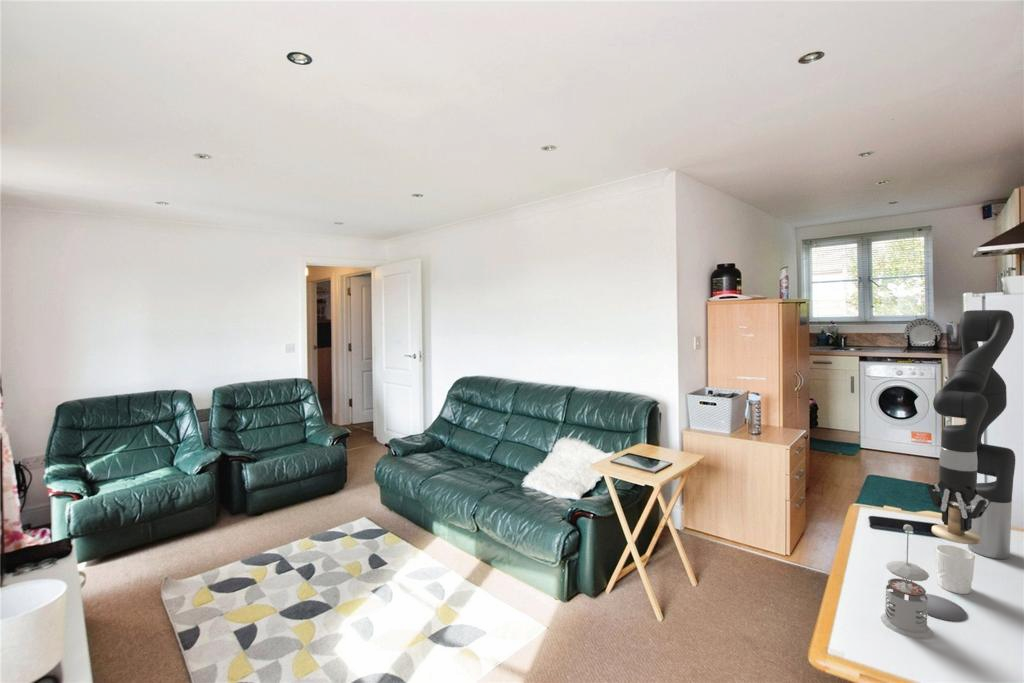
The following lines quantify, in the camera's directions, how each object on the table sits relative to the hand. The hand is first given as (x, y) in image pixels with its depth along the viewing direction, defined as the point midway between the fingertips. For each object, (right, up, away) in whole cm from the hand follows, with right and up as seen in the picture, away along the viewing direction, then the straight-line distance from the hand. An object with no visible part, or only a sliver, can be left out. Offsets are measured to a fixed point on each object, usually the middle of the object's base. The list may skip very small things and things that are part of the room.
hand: (956, 527), depth 133 cm
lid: (0, -2, 0) cm, 2 cm away
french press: (-24, -19, -13) cm, 33 cm away
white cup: (0, -17, +1) cm, 17 cm away
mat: (-12, -18, -7) cm, 22 cm away
